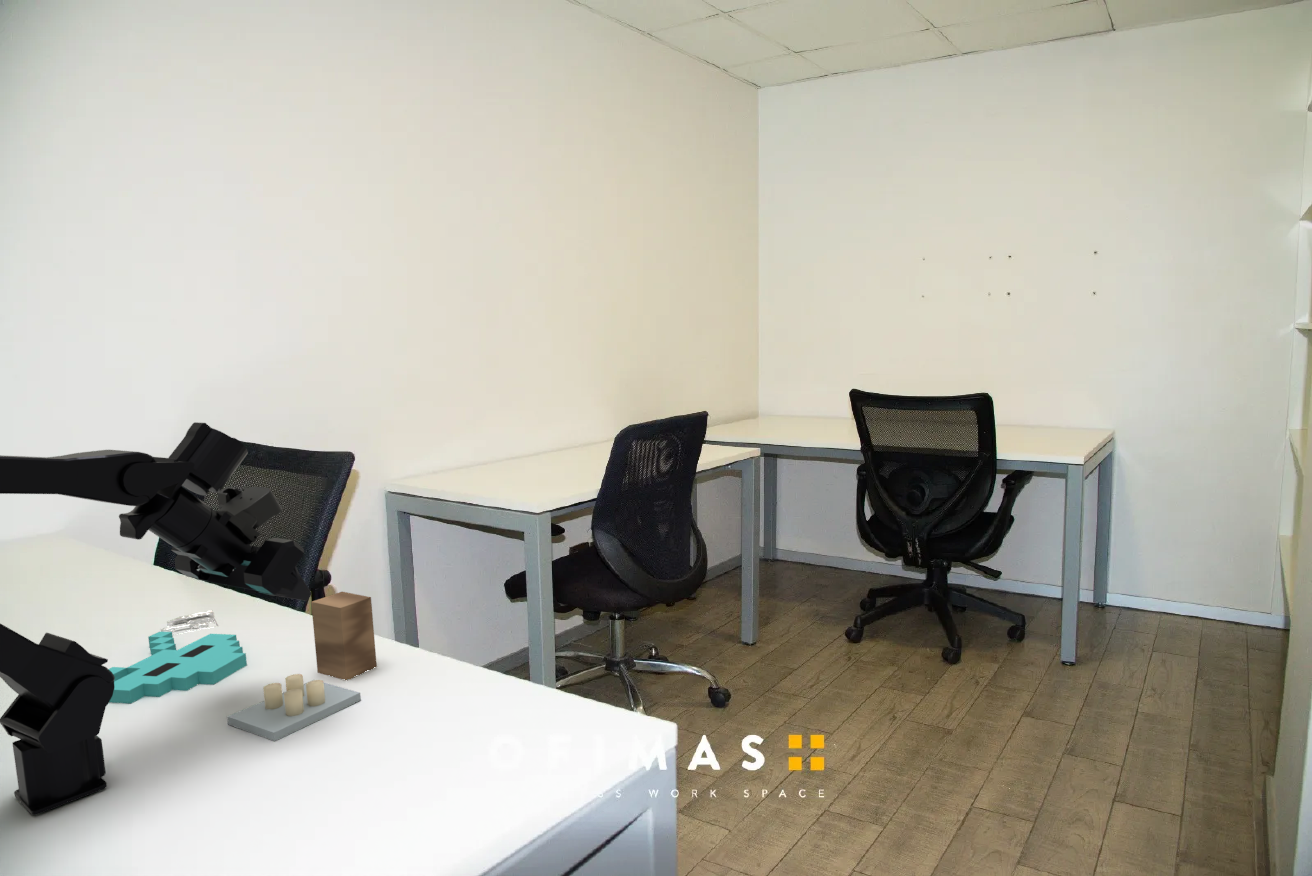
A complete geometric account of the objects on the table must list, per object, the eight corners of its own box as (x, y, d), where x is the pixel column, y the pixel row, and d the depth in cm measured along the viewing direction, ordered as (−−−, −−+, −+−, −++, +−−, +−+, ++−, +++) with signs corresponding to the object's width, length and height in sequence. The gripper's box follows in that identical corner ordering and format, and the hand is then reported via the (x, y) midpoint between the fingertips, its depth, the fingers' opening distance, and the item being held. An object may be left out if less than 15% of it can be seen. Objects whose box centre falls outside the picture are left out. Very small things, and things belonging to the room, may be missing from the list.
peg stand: (274, 741, 97) (271, 711, 96) (227, 724, 102) (225, 696, 101) (360, 700, 107) (358, 673, 107) (314, 686, 112) (312, 661, 111)
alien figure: (44, 701, 111) (176, 710, 107) (42, 685, 111) (174, 693, 107) (161, 645, 131) (277, 650, 127) (159, 631, 131) (275, 636, 126)
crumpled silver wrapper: (213, 618, 143) (212, 610, 143) (219, 629, 137) (218, 621, 137) (159, 629, 139) (158, 620, 139) (162, 641, 133) (161, 631, 133)
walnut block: (346, 680, 113) (340, 608, 112) (317, 672, 117) (311, 601, 115) (376, 667, 118) (371, 597, 116) (347, 660, 121) (342, 591, 120)
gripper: (281, 473, 97) (367, 545, 108) (188, 465, 107) (276, 532, 118) (222, 558, 91) (319, 625, 102) (130, 541, 101) (227, 604, 112)
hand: (285, 592), depth 109 cm, fingers open, 9 cm apart
